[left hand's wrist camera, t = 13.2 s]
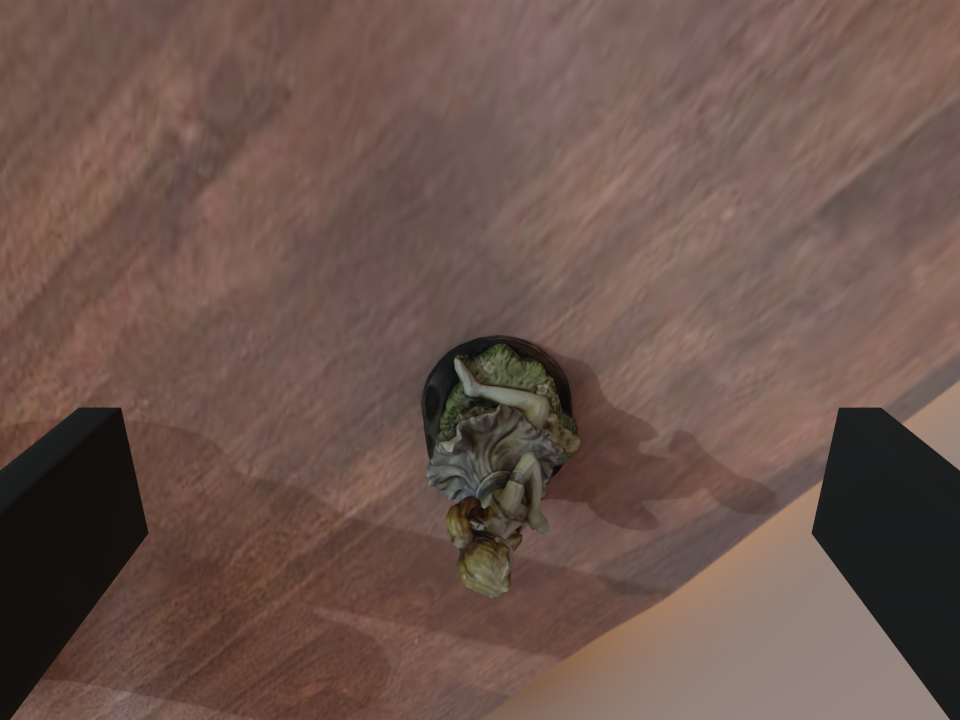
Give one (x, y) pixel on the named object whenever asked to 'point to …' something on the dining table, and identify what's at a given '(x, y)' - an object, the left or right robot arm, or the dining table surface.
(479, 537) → the figurine
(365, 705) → the dining table surface
